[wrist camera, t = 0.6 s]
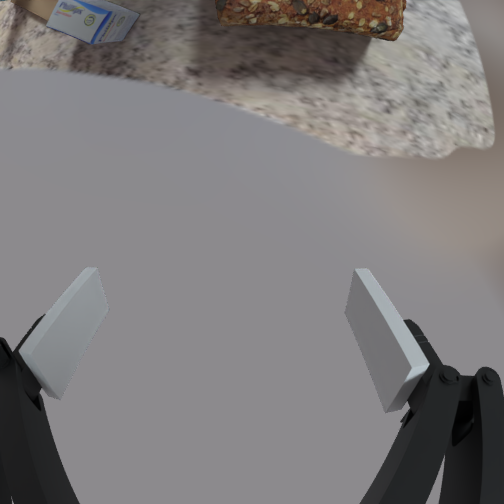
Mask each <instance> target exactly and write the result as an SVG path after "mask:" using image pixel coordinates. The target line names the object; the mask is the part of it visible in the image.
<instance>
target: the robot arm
mask: <svg viewBox="0 0 504 504" xmlns="http://www.w3.org/2000/svg"><path fill="white" fill-rule="evenodd" d="M108 311H109V306H108V303H107V300H106V296H105V293H104V290H103V286H102V283H101V279H100V275H99V271H98V268H97V267H86V268H85V269H84V270H83V271H82V272H81V273H80V274H79V275H78V277H77V278H76V279H75V280H74V281H73V282H72V284H71V285H70V286H69V287H68V288H67V289H66V290H65V292H64V293H63V294H62V295H61V296H60V298H59V299H58V300H57V301H56V302H55V303H54V305H53V306H52V307H51V309H50V310H49V311H48V312H47V314H44V315H43V316H41V317H40V318H39V319H38V320H37V321H36V322H35V323H34V324H33V326H32V328H31V329H30V330H29V331H28V332H27V334H26V335H25V336H24V337H23V339H22V340H21V342H20V343H19V344H18V346H17V347H16V349H15V350H14V351H13V352H12V351H11V349H10V347H9V345H8V343H7V342H6V340H5V339H4V338H1V337H0V504H12V500H13V502H14V504H80V503H79V501H78V499H77V497H76V495H75V493H74V491H73V489H72V487H71V484H70V482H69V480H68V477H67V475H66V472H65V470H64V467H63V465H62V462H61V460H60V457H59V454H58V451H57V448H56V445H55V442H54V439H53V436H52V433H51V429H50V426H49V422H48V419H47V415H46V411H45V407H44V403H43V399H42V396H41V394H40V393H39V392H40V390H41V388H43V390H44V391H45V392H46V394H47V395H48V396H50V397H53V398H56V399H59V400H60V399H61V398H62V396H63V394H64V392H65V390H66V388H67V386H68V384H69V382H70V380H71V378H72V376H73V374H74V372H75V370H76V368H77V366H78V364H79V362H80V361H81V359H82V357H83V355H84V353H85V351H86V350H87V348H88V346H89V344H90V342H91V341H92V339H93V337H94V335H95V334H96V332H97V330H98V328H99V326H100V325H101V323H102V322H103V320H104V318H105V316H106V315H107V313H108ZM345 314H346V317H347V319H348V322H349V324H350V326H351V328H352V330H353V333H354V335H355V338H356V340H357V343H358V345H359V347H360V350H361V352H362V355H363V357H364V359H365V362H366V365H367V367H368V370H369V372H370V375H371V377H372V380H373V382H374V385H375V387H376V390H377V393H378V395H379V398H380V401H381V403H382V406H383V409H384V411H385V413H388V412H392V411H397V410H401V409H402V408H403V406H404V405H405V403H406V402H407V401H408V404H409V406H410V409H409V410H408V412H407V413H406V414H405V416H404V417H403V418H402V420H401V421H400V422H403V423H402V426H401V428H400V430H399V432H398V435H397V437H396V439H395V441H394V443H393V445H392V447H391V449H390V451H389V453H388V455H387V457H386V459H385V461H384V463H383V465H382V467H381V469H380V471H379V472H378V474H377V476H376V478H375V479H374V481H373V483H372V485H371V486H370V488H369V489H368V491H367V493H366V494H365V496H364V497H363V499H362V501H361V502H360V504H425V503H426V501H427V499H428V497H429V495H430V492H431V490H432V487H433V485H434V483H435V480H436V477H437V475H438V472H439V469H440V467H441V463H442V461H443V458H444V455H445V462H444V472H443V480H442V487H441V493H440V499H439V504H504V395H503V390H502V385H501V380H500V377H499V375H498V374H497V372H496V371H494V370H493V369H491V368H489V367H482V368H480V369H479V370H478V371H477V373H476V374H475V376H462V375H460V373H459V372H458V371H457V370H456V369H454V368H453V367H451V366H447V365H443V364H442V362H441V360H440V359H439V357H438V356H437V354H436V353H435V351H434V349H433V348H432V346H431V344H430V343H429V342H428V340H427V338H426V337H425V336H424V334H423V332H422V331H421V329H420V328H419V326H418V325H417V324H415V323H414V322H413V321H412V320H410V319H408V320H402V318H401V316H400V315H399V313H398V312H397V311H396V309H395V307H394V306H393V304H392V303H391V301H390V300H389V298H388V297H387V295H386V294H385V292H384V291H383V289H382V288H381V287H380V285H379V284H378V282H377V281H376V279H375V278H374V276H373V275H372V274H371V272H370V271H369V269H354V272H353V277H352V282H351V287H350V292H349V296H348V301H347V305H346V309H345ZM11 497H12V499H11Z"/></svg>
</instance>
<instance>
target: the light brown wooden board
mask: <svg viewBox="0 0 504 504" xmlns="http://www.w3.org/2000/svg"><path fill="white" fill-rule="evenodd" d="M58 1H59V0H11V2H12V3H14V4H16V5H18V6H20V7H22V8H24V9H26V10H28V11H30V12H32V13H34V14H36V15H38V16H40V17H42V18H44V19H45V20H47V21H49V18H50V16H51V14H52V12H53V10H54V8H55V6H56V4H57V3H58Z"/></svg>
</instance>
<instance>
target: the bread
mask: <svg viewBox="0 0 504 504" xmlns="http://www.w3.org/2000/svg"><path fill="white" fill-rule="evenodd" d="M215 2H216V9H217V13H218V19H219V21H220V23H221V26H240V25H249V26H256V25H276V26H294V27H307V28H319V29H327V30H334V31H340V32H347V33H353V34H359V35H364V36H370V37H374V38H379V39H383V40H387V41H395V40H397V38H398V37H399V35H400V34H401V32H402V30H403V28H404V26H403V11H404V10H405V9H406V0H215Z"/></svg>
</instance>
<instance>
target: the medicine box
mask: <svg viewBox="0 0 504 504" xmlns="http://www.w3.org/2000/svg"><path fill="white" fill-rule="evenodd" d="M139 15H140V14H138V13H136V12H134V11H131V10H129V9H126V8H124V7H121V6H119V5H116V4H113V3H111V2H108V1H105V0H59V1H58V3H57V4H56V6H55V8H54V10H53V12H52V14H51V16H50V18H49V21H48V23H47V25H46V26H47V27H49V28H52V29H54V30H57V31H60V32H62V33H65V34H67V35H70V36H72V37H74V38H77V39H79V40H81V41H84V42H86V43H88V44H98V43H106V42H116V41H122V40H123V39H124V37H125V36H126V34H127V33H128V31H129V30H130V28H131V27H132V25H133V24H134V22H135V21H136V19H137V18H138V16H139Z"/></svg>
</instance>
